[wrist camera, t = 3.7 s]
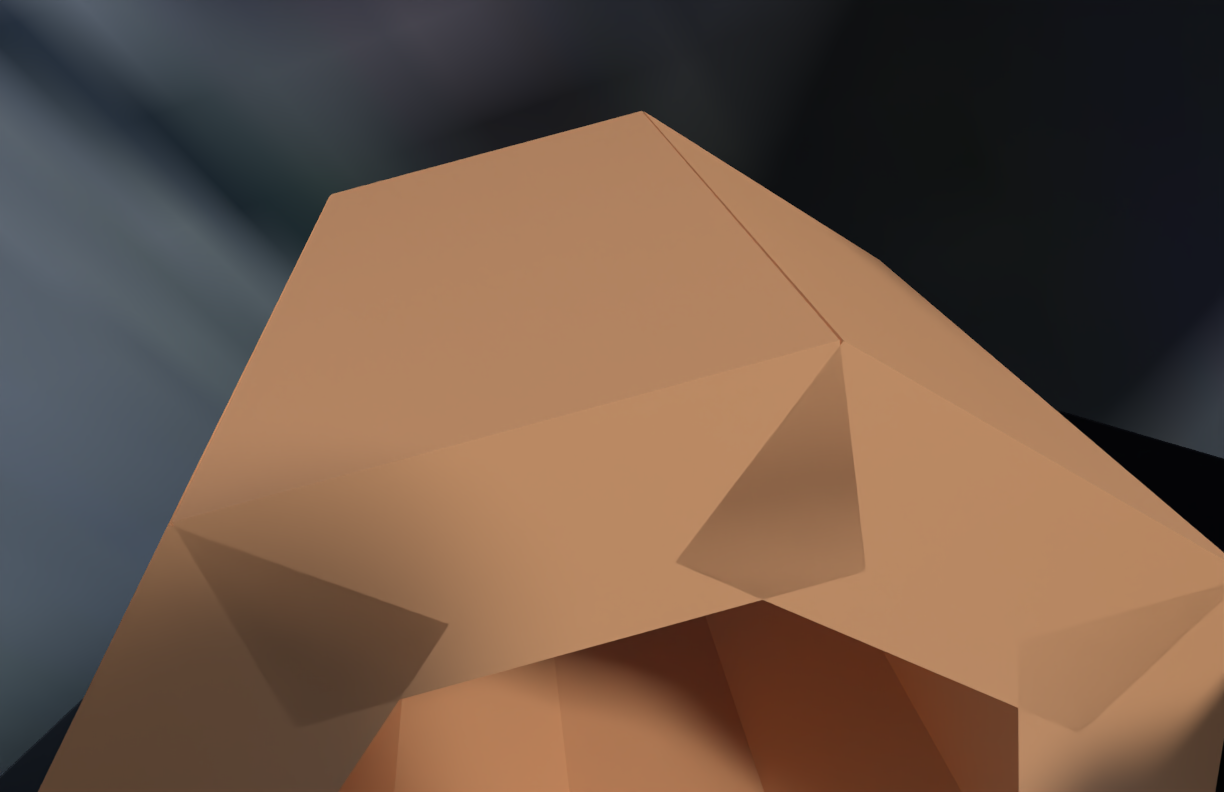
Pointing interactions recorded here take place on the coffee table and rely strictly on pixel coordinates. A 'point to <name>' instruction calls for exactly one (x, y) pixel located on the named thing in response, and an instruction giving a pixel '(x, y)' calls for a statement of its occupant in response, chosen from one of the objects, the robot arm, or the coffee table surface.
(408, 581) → the ring
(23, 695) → the coffee table surface
